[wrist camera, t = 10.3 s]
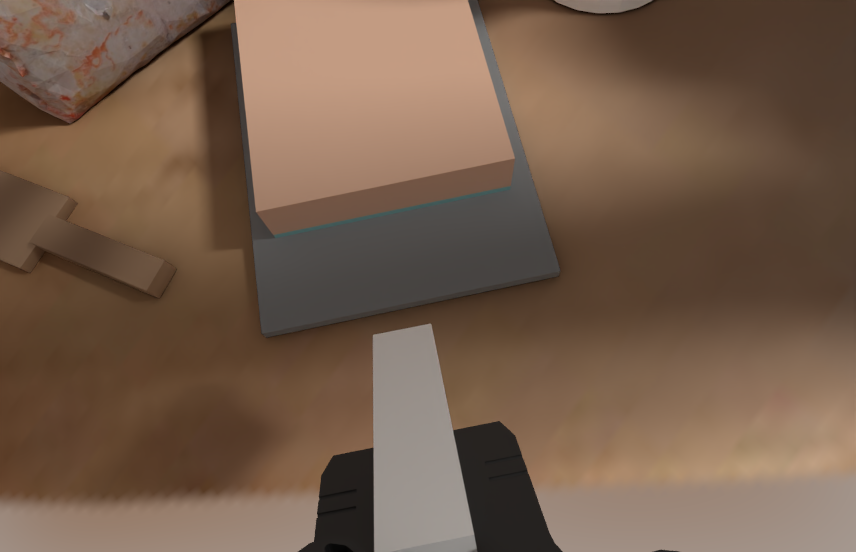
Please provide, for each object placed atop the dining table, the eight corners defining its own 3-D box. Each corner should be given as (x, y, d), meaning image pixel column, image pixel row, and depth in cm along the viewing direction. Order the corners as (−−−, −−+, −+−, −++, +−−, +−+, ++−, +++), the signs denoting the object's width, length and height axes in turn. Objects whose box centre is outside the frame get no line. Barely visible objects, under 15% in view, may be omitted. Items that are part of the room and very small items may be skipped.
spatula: (190, 247, 24) (178, 237, 24) (145, 322, 23) (131, 315, 22) (-8, 170, 27) (-25, 158, 26) (-57, 235, 26) (-77, 226, 25)
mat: (558, 276, 23) (560, 271, 23) (266, 337, 23) (261, 333, 22) (469, -15, 29) (469, -25, 28) (235, 32, 29) (230, 23, 28)
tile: (514, 158, 22) (448, -64, 26) (256, 212, 22) (231, -21, 26) (510, 189, 24) (449, -20, 28) (275, 238, 24) (250, 20, 28)
